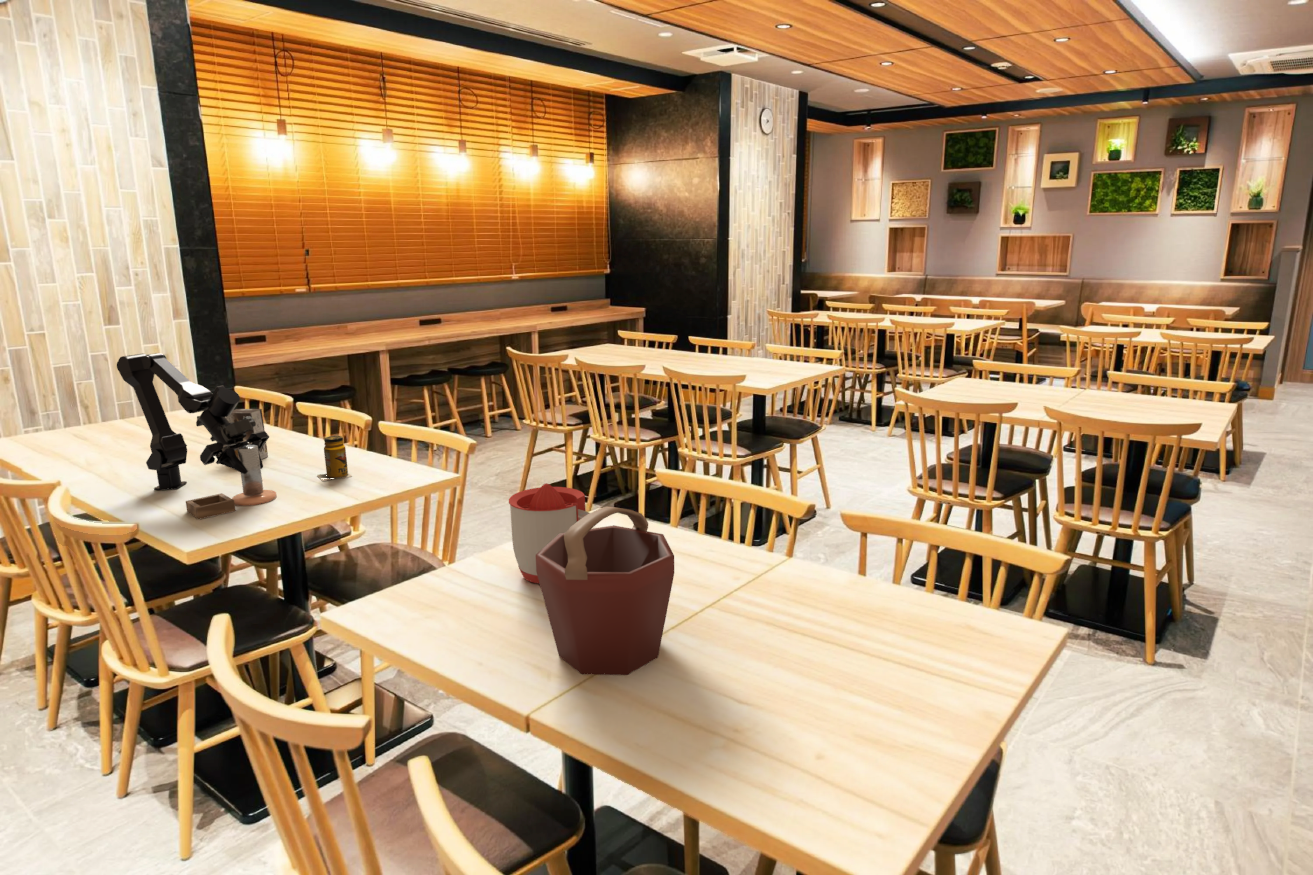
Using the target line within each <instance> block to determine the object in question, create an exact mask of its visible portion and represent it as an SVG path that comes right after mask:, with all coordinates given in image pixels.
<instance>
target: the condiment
mask: <svg viewBox="0 0 1313 875" xmlns="http://www.w3.org/2000/svg"><path fill="white" fill-rule="evenodd" d="M323 441H324V447H323V452H324V454H323V455H324V462H325V472H326V473H324V474H323V473H322V474H317V477H318V478H319V479H320V478H340V479H345V478H351V477H352V474H350V473H349V470H348V460H347V452H346V446H345V444H344V437H343V436H342V435H331V436H327V437H325V438H324V439H323ZM326 475H327V476H326ZM320 480H321V481H322V482H324V481H326V482H327V481H331V479H324V480H323V479H320Z"/></svg>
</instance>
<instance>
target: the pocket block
mask: <svg viewBox="0 0 1313 875" xmlns="http://www.w3.org/2000/svg"><path fill="white" fill-rule="evenodd" d="M185 507H186V512H187V513H188V514H189V515H191V516H192V517H194V518H195V519H197V520H202V519H207V518H211V517H216V516H219V515H224V514H229V513H234V512H236V511H237V510H236V505H235V503H234V500H233V499H232V497H229V496H227V495H225V494H224V493H218V494H212V495H207V496H202V497H199V498H194V499H190V500H189V499H188V500H185Z"/></svg>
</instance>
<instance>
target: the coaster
mask: <svg viewBox="0 0 1313 875" xmlns="http://www.w3.org/2000/svg"><path fill="white" fill-rule="evenodd" d="M263 491H264V492H263V493H261V494H259V495H253V496H246V495H244V494H243V492H240V493H239V494H235V495H234V496H233V497H231V499H233V500H234V503H235V506H243V507H244V506H256V505H262V504H267V503H268V502H272V501H274V500H275V499H276V498H277V492H276V491H275V490H272V489H263ZM273 499H274V500H273ZM261 503H262V504H261Z"/></svg>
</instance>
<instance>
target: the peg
mask: <svg viewBox="0 0 1313 875" xmlns="http://www.w3.org/2000/svg"><path fill="white" fill-rule="evenodd" d="M237 450H238V457H239V460H240V462H241V463H242V464H243V466H244V467H245V468H246V470H247V473H246V474H243V473H241V472H240V478H241V485H242V486H241V487H242V493H243V494H244V495H246V496H253V495H259V494H261V493H263V492H264V491H263V490H264V487H263V477H262V469H261V468H260V460H259V452H258V446H257V445H245V446H240V447H238V448H237Z"/></svg>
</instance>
